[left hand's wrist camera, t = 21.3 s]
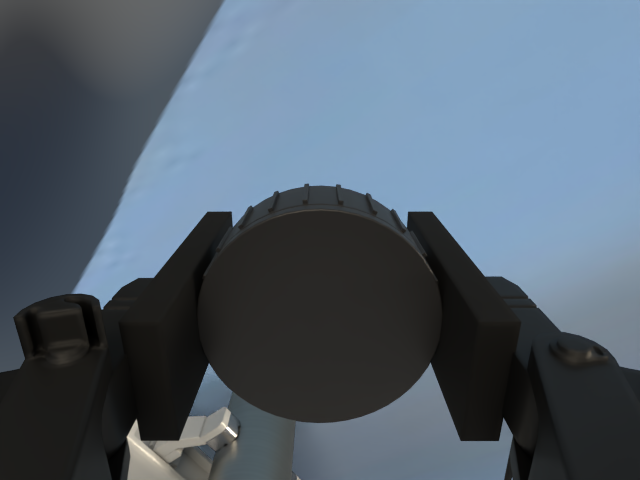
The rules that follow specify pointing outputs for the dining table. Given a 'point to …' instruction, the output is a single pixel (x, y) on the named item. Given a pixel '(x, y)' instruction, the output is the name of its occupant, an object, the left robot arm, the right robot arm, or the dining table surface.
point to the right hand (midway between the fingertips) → (263, 451)
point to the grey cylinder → (255, 446)
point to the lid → (319, 306)
